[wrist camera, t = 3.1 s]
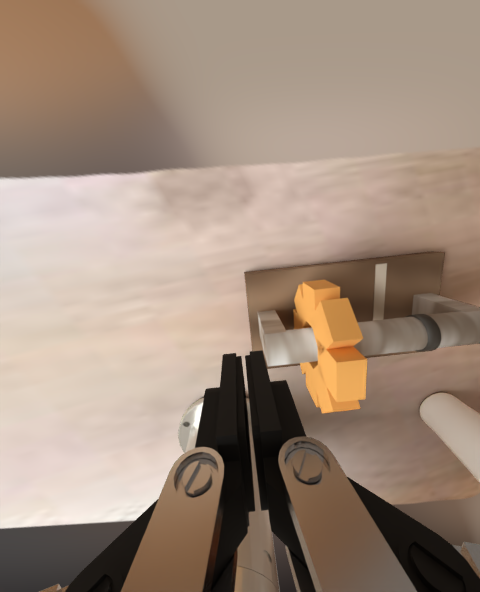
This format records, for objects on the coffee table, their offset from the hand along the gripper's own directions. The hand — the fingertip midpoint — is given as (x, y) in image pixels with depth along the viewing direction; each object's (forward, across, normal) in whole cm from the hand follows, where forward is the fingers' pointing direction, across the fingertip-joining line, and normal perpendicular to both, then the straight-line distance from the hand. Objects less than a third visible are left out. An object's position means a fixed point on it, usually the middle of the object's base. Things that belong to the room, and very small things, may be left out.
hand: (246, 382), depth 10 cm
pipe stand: (+18, -12, +4) cm, 22 cm away
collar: (+16, -7, +4) cm, 18 cm away
